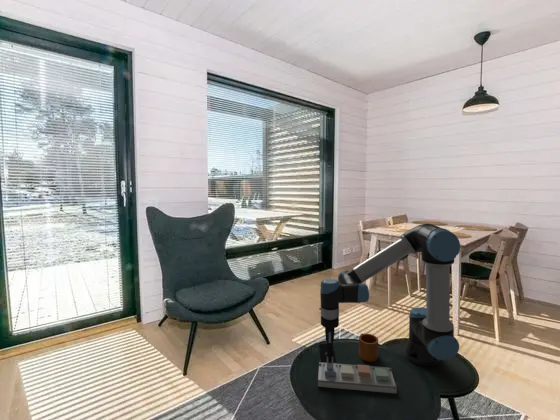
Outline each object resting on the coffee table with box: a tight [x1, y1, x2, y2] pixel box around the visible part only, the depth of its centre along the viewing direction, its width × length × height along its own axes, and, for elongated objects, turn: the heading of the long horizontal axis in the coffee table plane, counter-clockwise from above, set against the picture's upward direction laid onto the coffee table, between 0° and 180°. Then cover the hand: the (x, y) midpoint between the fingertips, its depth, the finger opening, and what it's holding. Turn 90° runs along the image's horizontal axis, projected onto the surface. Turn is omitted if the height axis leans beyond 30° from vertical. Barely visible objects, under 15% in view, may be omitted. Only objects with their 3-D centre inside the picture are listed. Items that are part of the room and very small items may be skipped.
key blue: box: [324, 364, 336, 376], centre depth 131 cm, size 5×5×2 cm
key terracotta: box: [357, 364, 371, 377], centre depth 128 cm, size 5×5×2 cm
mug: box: [358, 333, 379, 363], centre depth 146 cm, size 9×12×9 cm
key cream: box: [341, 365, 353, 378], centre depth 130 cm, size 5×5×2 cm
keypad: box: [317, 361, 398, 394], centre depth 129 cm, size 31×12×3 cm, turn 80°
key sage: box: [374, 368, 388, 381], centre depth 127 cm, size 5×5×2 cm
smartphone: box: [318, 343, 337, 364], centre depth 148 cm, size 7×1×15 cm
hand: (330, 367), depth 131 cm, fingers closed
